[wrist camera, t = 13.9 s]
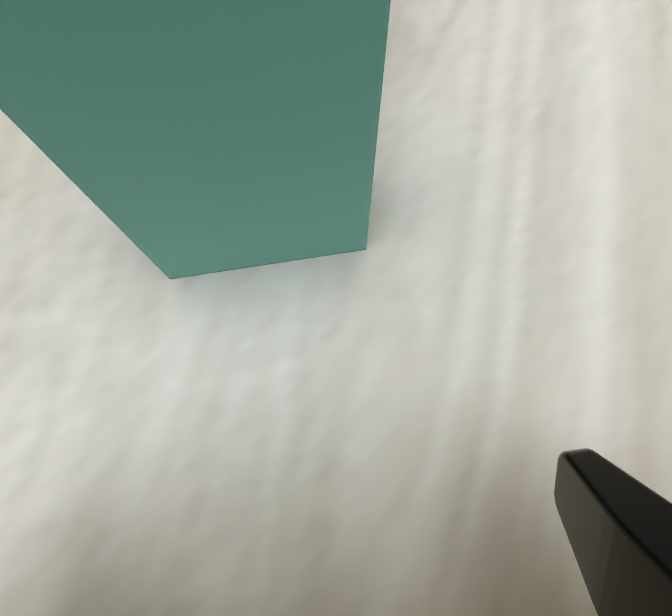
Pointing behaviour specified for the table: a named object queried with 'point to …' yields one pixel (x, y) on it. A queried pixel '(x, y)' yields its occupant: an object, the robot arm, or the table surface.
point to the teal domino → (206, 119)
